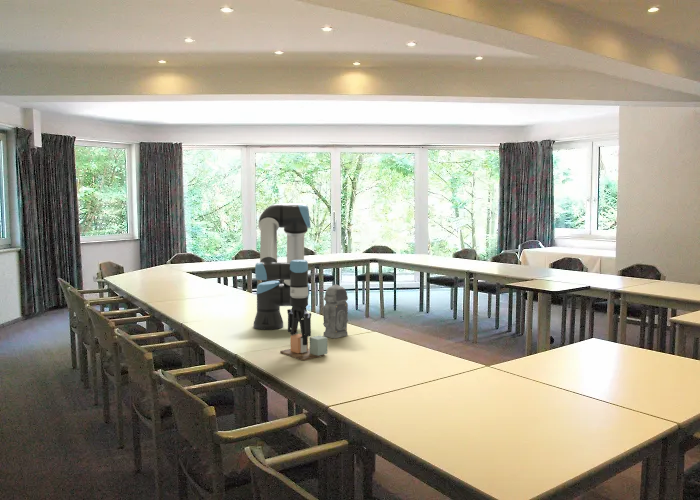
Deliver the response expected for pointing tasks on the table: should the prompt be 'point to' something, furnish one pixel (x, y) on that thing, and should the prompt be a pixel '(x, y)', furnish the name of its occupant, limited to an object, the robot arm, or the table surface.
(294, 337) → the orange block
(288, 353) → the stand
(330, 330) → the figurine
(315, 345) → the pale blue-grey block
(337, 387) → the table surface
